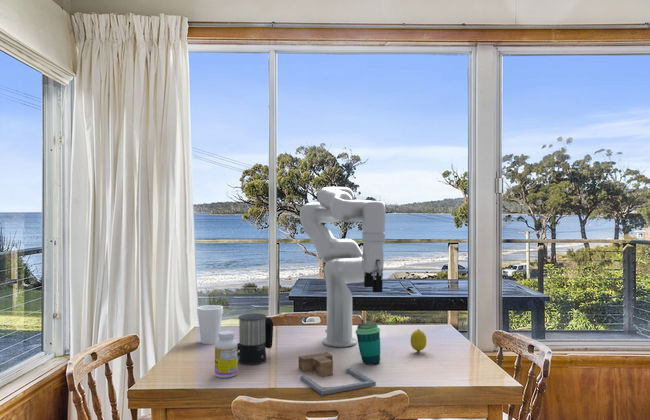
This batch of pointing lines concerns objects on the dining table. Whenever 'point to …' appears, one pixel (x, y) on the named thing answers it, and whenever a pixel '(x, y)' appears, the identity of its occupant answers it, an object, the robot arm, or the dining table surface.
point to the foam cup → (209, 322)
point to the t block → (317, 363)
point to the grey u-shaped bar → (322, 391)
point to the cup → (369, 343)
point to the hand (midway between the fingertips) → (373, 289)
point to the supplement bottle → (226, 355)
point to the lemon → (418, 340)
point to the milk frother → (254, 338)
